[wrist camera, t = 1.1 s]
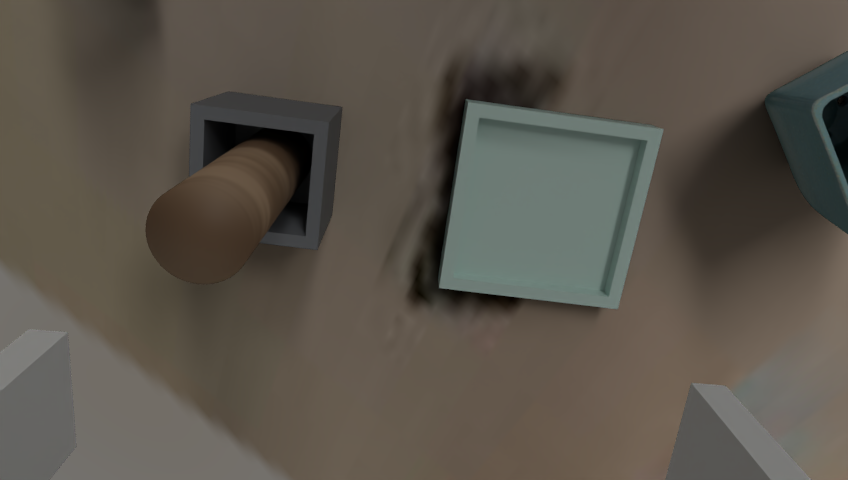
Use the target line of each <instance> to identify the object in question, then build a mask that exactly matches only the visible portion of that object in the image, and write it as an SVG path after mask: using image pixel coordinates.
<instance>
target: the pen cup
mask: <svg viewBox="0 0 848 480" xmlns="http://www.w3.org/2000/svg"><path fill="white" fill-rule="evenodd" d="M341 117H342V107H339V106H331V105H324V104H317V103H309V102H302V101H295V100H287V99H280V98H273V97H265V96H258V95H251V94H243V93H236V92H229V91H228V92H225V93H222V94H219V95H216V96H213V97H210V98H207V99H204V100H201V101H198V102H195V103H192V104H191V112H190V158H189V177H190V176H191V175H193V174H195V173H196V172H198V171H199V170H201V169H202V168H204V167H205V166H207V165H208V164H210V163H211V162H213V161H214V160H216V159H217V158H219V157H220V156H222V155H223V154H225V153H226V152H228V151H229V150H231V149H232V148H234V147H235V146H237V145H238V144H240V143H241V142H243V141H244V140H246V139H247V138H249V137H251V136H252V135H254V134H255V133H257V132H258V131H260V130H261V129H263V128H272V129H279V130H287V131H294V132H299V133H301V134H302V135H303V136H304V137H305V139H306V140H307V142H308V144H309V146H310V148H311V152H312V165H311V169H310V171H309V173H308V175H307V176H306V178H305V179H304V181H303V182H302V183H301V185H300V186H299V188H298V189H297V190H296V192H295V193H294V195H293V196H292V197H291V199H290V200H289V202H288V203H287V205H286V206H285V207H284V209H283V210H282V212H281V213H280V214H279V216H278V217H277V219H276V220H275V221H274V223H273V224H272V226H271V227H270V229H269V230H268V231H267V233H266V234H265V236H264V237H263V238H262V240H261V241H260V243H264V244H272V245H280V246H288V247H297V248H305V249H313V250H318V247H319V245H320V243H321V240H322V238H323V235H324V233H325V231H326V228H327V226H328V223H329V221H330V219H331V216H332V211H333V200H334V190H335V179H336V169H337V159H338V148H339V138H340V127H341Z"/></svg>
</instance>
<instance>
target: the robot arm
mask: <svg viewBox="0 0 848 480" xmlns="http://www.w3.org/2000/svg"><path fill="white" fill-rule="evenodd" d="M75 448H76V434H75V420H74V407H73V394H72V380H71V367H70V353H69V339H68V332H60V331H47V330H35V329H29V330H27V331H26V332H25V333H24V334H23V335H21V336H20V337H18V338H17V339H16V340H15V341H13V342H12V343H11V344H9V345H8V346H7V347H6V348H4V349H3V350H2V351H0V480H50V479H51V477H52V476H53V475H54V474H55V472H56V471H57V470H58V469H59V468H60V466H61V465H62V464H63V463H64V461H65V460H66V459H67V458H68V456H69V455H70V454H71V453H72V451H73V450H74V449H75ZM665 480H811V479H810V478H809V477H808V476H807V474H806V473H805V472H804V471H803V470H802V469H801V468H800V467H799V466H798V465H797V463H796V462H795V461H794V460H793V459H792V458H791V457H790V456H789V455H788V454H787V453H786V451H785V450H784V449H783V448H782V447H781V446H780V445H779V444H778V443H777V442H776V440H775V439H774V438H773V437H772V436H771V435H770V434H769V433H768V432H767V431H766V430H765V428H764V427H763V426H762V425H761V424H760V423H759V422H758V421H757V420H756V419H755V417H754V416H753V415H752V414H751V413H750V412H749V411H748V410H747V409H746V408H745V407H744V405H743V404H742V403H741V402H740V401H739V400H738V399H737V398H736V397H735V396H734V394H733V393H732V392H731V391H730V390H729V389H728V388H727V387H726V386H723V385H710V384H698V383H691V386H690V390H689V393H688V397H687V401H686V405H685V408H684V412H683V416H682V420H681V423H680V427H679V431H678V434H677V438H676V442H675V446H674V449H673V453H672V457H671V461H670V464H669V468H668V472H667V476H666V479H665Z"/></svg>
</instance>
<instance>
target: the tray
mask: <svg viewBox="0 0 848 480" xmlns="http://www.w3.org/2000/svg"><path fill="white" fill-rule="evenodd" d="M663 130H664V129H661V128H659V127H656V126H654V125H648V124H641V123H634V122H626V121H619V120H612V119H605V118H598V117H590V116H583V115H576V114H569V113H562V112H554V111H547V110H540V109H533V108H526V107H518V106H511V105H504V104H497V103H490V102H482V101H475V100H468V99H466V100H465V106H464V113H463V119H462V126H461V132H460V138H459V145H458V151H457V158H456V164H455V171H454V177H453V183H452V190H451V196H450V203H449V209H448V216H447V222H446V229H445V235H444V241H443V248H442V254H441V261H440V267H439V274H438V283H439V288H443V289H451V290H460V291H468V292H477V293H485V294H493V295H502V296H510V297H519V298H527V299H536V300H544V301H552V302H561V303H569V304H578V305H586V306H594V307H603V308H611V309H618V306H619V302H620V299H621V295H622V291H623V287H624V283H625V279H626V275H627V271H628V267H629V263H630V259H631V255H632V251H633V248H634V244H635V240H636V236H637V232H638V228H639V224H640V220H641V216H642V212H643V208H644V204H645V201H646V197H647V193H648V189H649V185H650V181H651V177H652V173H653V169H654V165H655V161H656V157H657V154H658V150H659V146H660V142H661V138H662V134H663Z"/></svg>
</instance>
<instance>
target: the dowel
mask: <svg viewBox="0 0 848 480" xmlns="http://www.w3.org/2000/svg"><path fill="white" fill-rule="evenodd" d="M311 165H312V152H311V148H310V146H309V144H308V142H307V140H306V139H305V137H304V136H303V135H302V134H301V133H299V132H294V131H287V130H279V129H272V128H263V129H261V130H260V131H258V132H257V133H255V134H254V135H252V136H251V137H249V138H247V139H246V140H244V141H243V142H241V143H240V144H238V145H237V146H235V147H234V148H232V149H231V150H229V151H228V152H226V153H225V154H223V155H222V156H220V157H219V158H217V159H216V160H214V161H213V162H211V163H210V164H208V165H207V166H205V167H204V168H202V169H201V170H199V171H198V172H196V173H195V174H193V175H191V176H190V177H188V178H187V179H185V180H184V181H182V182H181V183H179V184H178V185H176V186H175V187H173V188H172V189H170V190H169V191H167V192H166V193H164V194H163V195H162V196H160V197H159V198H158V199H157V200H156V202H155V203H154V204H153V206H152V207H151V209H150V211H149V214H148V216H147V221H146V238H147V243H148V245H149V248H150V250H151V252H152V254H153V256H154V257H155V259H156V260H157V262H158V263H159V264H160V265H161V266H162V267H163V268H164V269H165V270H166V271H168V272H169V273H170V274H172V275H173V276H175V277H177V278H179V279H181V280H184V281H187V282H190V283H195V284H213V283H218V282H221V281H224V280H226V279H228V278H230V277H231V276H233V275H234V274H236V273H237V272H238V271H239V270H240V269H241V268H242V266H243V265H244V264H245V262H246V261H247V260H248V258H249V257H250V255H251V254H252V253H253V251H254V250H255V248H256V247H257V245H258V244H259V243H260V241H261V240H262V238H263V237H264V236H265V234H266V233H267V231H268V230H269V229H270V227H271V226H272V224H273V223H274V221H275V220H276V219H277V217H278V216H279V214H280V213H281V212H282V210H283V209H284V207H285V206H286V205H287V203H288V202H289V200H290V199H291V197H292V196H293V195H294V193H295V192H296V190H297V189H298V188H299V186H300V185H301V183H302V182H303V181H304V179H305V178H306V176H307V175H308V173H309V171H310V169H311Z"/></svg>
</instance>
